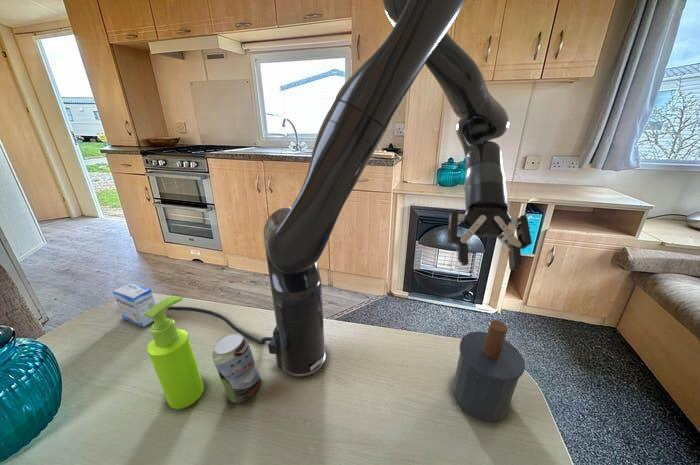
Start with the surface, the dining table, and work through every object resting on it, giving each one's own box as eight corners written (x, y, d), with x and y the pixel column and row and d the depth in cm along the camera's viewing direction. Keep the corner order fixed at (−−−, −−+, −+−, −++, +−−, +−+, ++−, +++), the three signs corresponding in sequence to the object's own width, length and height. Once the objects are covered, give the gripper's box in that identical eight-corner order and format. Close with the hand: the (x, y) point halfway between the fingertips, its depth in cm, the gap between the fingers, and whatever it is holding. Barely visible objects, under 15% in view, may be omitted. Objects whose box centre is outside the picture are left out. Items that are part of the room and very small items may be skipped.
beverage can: (251, 410, 49) (241, 361, 44) (215, 402, 50) (200, 353, 46) (268, 379, 55) (260, 332, 50) (234, 373, 56) (224, 327, 51)
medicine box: (123, 319, 70) (111, 291, 67) (140, 308, 74) (130, 281, 71) (143, 327, 68) (132, 299, 64) (161, 316, 72) (151, 288, 68)
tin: (457, 417, 48) (467, 374, 44) (449, 372, 56) (457, 332, 52) (514, 426, 47) (530, 383, 42) (497, 379, 55) (510, 339, 51)
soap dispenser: (214, 380, 55) (191, 297, 46) (185, 413, 49) (152, 325, 40) (191, 372, 56) (165, 290, 48) (160, 403, 50) (124, 316, 42)
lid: (465, 378, 44) (473, 344, 41) (454, 333, 53) (460, 302, 50) (533, 389, 42) (547, 354, 39) (510, 340, 51) (520, 309, 48)
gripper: (452, 178, 54) (453, 257, 48) (531, 181, 52) (542, 265, 46) (445, 197, 61) (445, 268, 55) (514, 200, 59) (522, 275, 53)
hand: (489, 266), depth 51 cm, fingers open, 8 cm apart
